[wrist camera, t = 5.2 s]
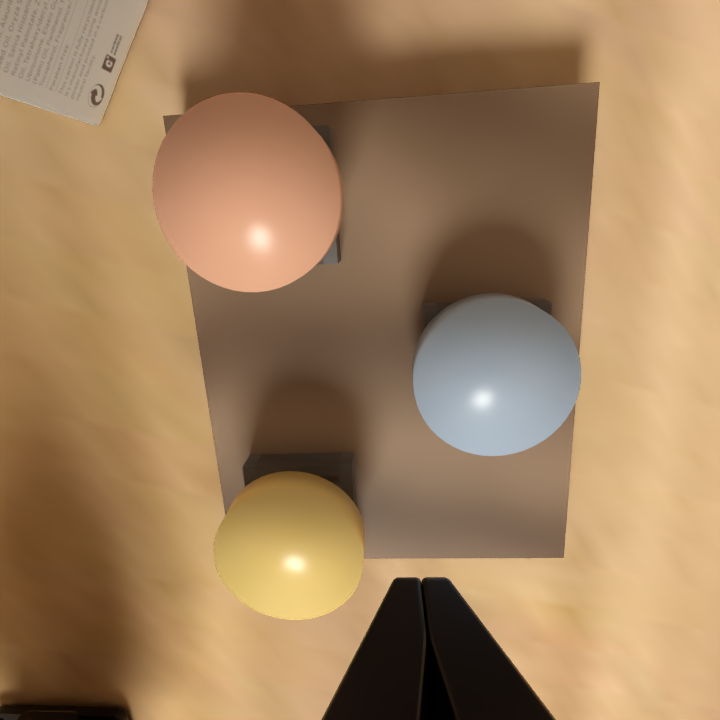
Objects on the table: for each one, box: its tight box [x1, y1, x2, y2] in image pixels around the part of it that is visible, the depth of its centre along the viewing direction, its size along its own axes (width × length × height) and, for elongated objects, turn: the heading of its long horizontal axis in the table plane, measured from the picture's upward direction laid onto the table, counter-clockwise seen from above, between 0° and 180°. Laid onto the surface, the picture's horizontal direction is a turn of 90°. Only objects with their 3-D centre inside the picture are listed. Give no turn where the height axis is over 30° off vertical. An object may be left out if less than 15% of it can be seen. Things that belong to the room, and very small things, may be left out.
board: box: [163, 82, 600, 559], centre depth 16 cm, size 15×12×2 cm
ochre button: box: [214, 471, 365, 620], centre depth 15 cm, size 4×4×2 cm
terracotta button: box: [153, 92, 344, 292], centre depth 12 cm, size 4×4×2 cm
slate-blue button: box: [412, 293, 581, 456], centre depth 14 cm, size 4×4×2 cm
